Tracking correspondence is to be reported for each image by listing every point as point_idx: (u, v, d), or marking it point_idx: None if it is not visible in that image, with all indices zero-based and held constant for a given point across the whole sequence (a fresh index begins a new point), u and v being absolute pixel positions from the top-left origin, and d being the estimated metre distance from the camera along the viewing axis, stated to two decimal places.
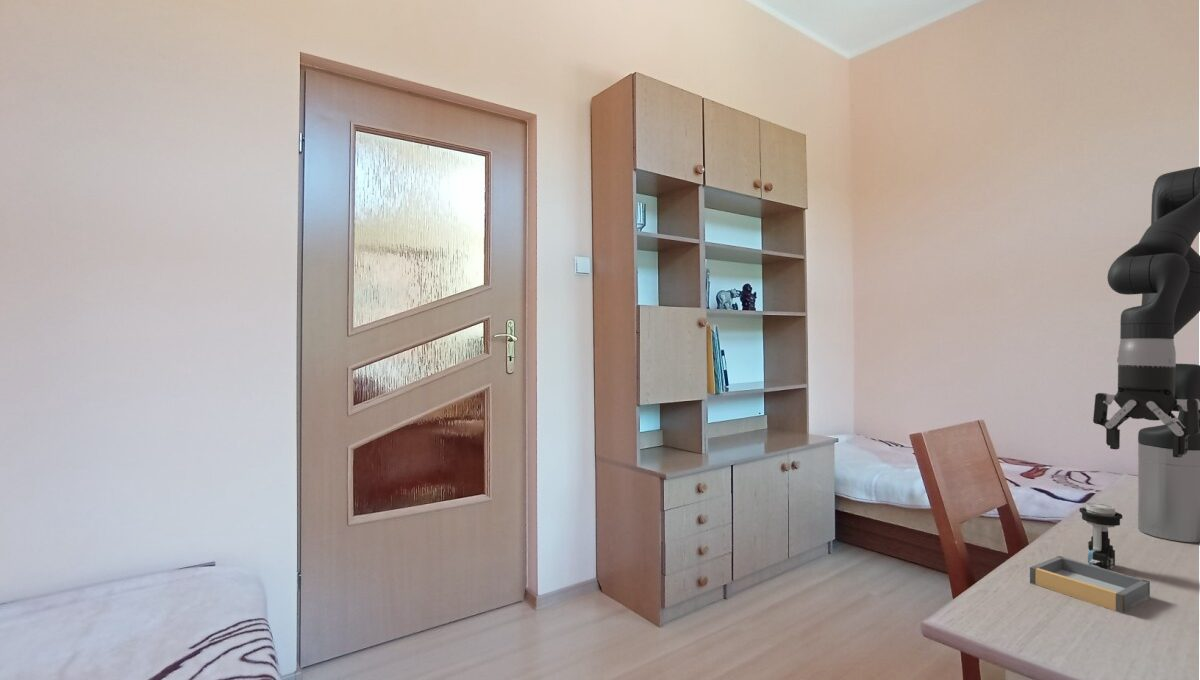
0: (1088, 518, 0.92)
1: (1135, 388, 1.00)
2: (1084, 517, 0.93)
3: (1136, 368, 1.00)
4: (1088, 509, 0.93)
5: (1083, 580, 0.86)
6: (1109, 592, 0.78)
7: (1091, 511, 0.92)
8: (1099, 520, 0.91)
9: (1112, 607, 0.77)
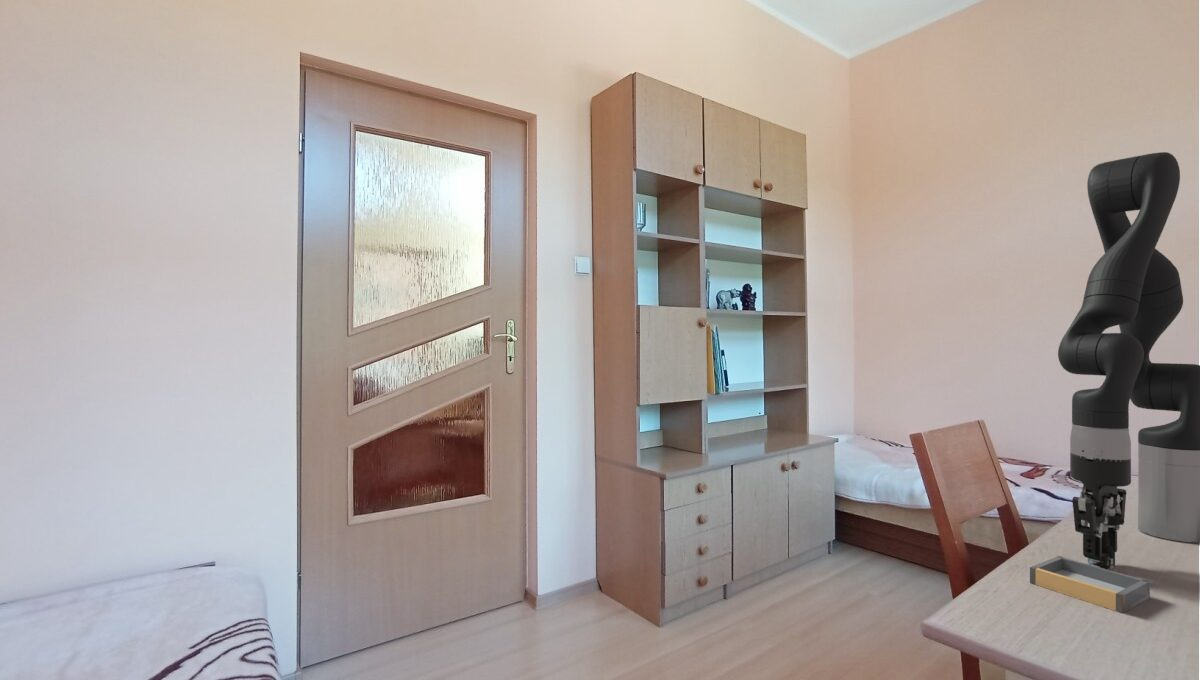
0: None
1: (1127, 485, 0.89)
2: None
3: (1129, 462, 0.89)
4: None
5: (1083, 580, 0.86)
6: (1109, 592, 0.78)
7: None
8: None
9: (1112, 607, 0.77)
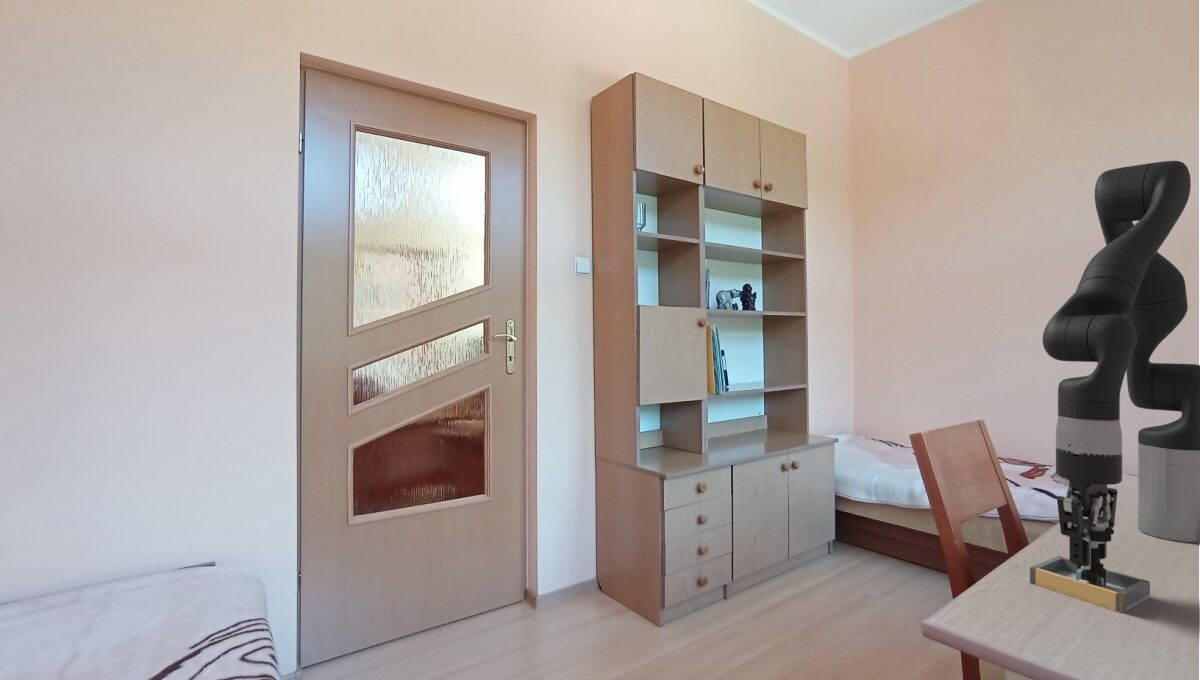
0: None
1: (1117, 483, 0.80)
2: None
3: (1120, 458, 0.80)
4: None
5: None
6: (1109, 592, 0.78)
7: None
8: None
9: (1112, 607, 0.77)
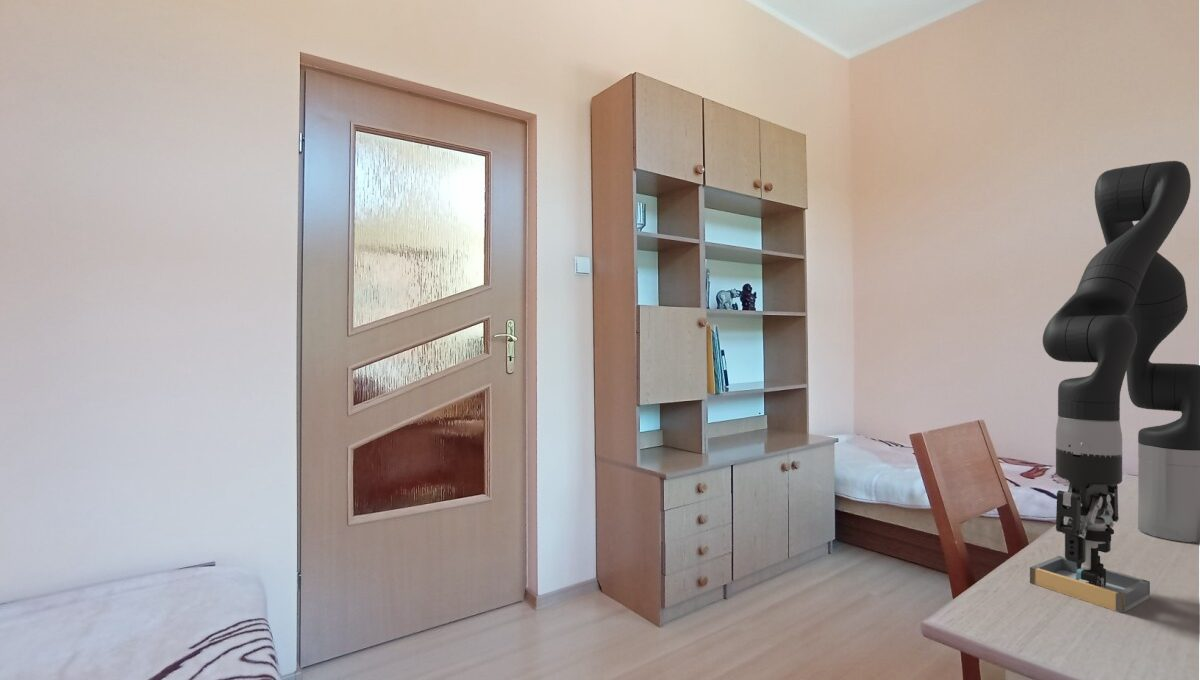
0: None
1: (1117, 483, 0.80)
2: None
3: (1120, 458, 0.80)
4: None
5: None
6: (1109, 592, 0.78)
7: None
8: (1088, 536, 0.82)
9: (1112, 607, 0.77)
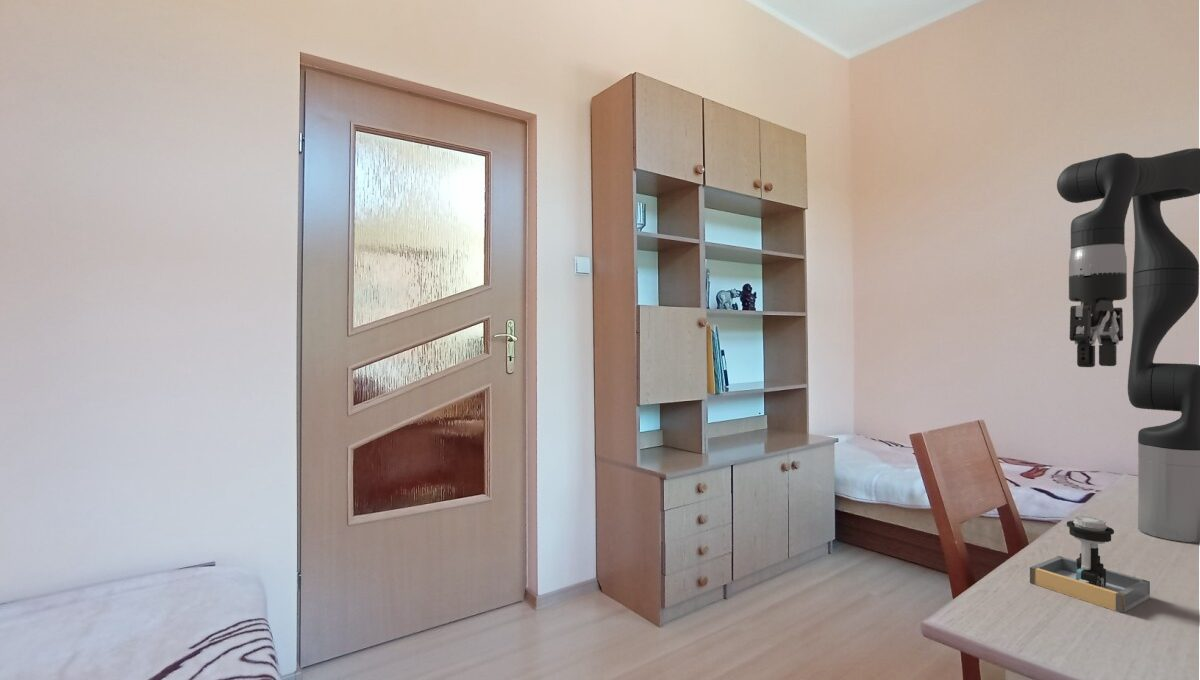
0: (1076, 533, 0.83)
1: (1122, 297, 0.93)
2: (1072, 532, 0.84)
3: (1124, 276, 0.93)
4: (1076, 523, 0.84)
5: None
6: (1109, 592, 0.78)
7: (1079, 525, 0.83)
8: (1088, 536, 0.82)
9: (1112, 607, 0.77)
